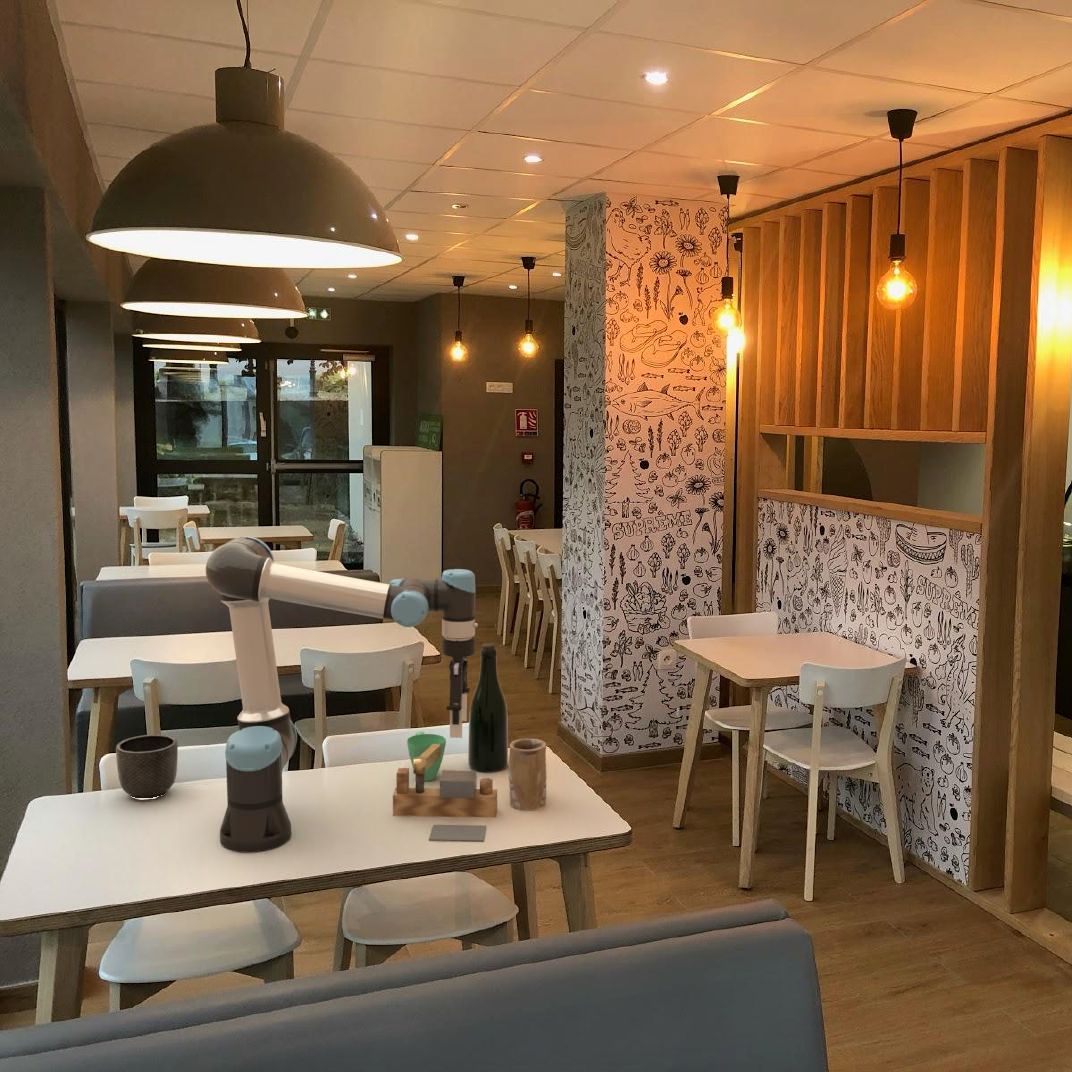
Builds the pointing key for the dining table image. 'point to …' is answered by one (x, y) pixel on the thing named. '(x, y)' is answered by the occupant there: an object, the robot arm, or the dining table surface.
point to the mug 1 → (420, 745)
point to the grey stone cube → (458, 784)
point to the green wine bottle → (488, 718)
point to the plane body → (441, 799)
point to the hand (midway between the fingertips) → (458, 728)
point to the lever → (426, 759)
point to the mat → (458, 833)
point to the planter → (147, 765)
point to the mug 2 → (527, 774)
